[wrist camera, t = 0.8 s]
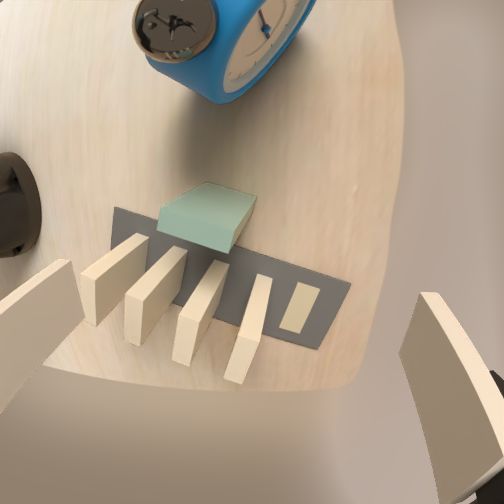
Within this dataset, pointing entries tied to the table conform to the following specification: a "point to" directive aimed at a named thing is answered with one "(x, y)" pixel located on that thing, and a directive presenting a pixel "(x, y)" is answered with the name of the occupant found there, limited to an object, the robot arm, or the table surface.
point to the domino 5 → (249, 331)
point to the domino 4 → (198, 313)
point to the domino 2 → (153, 295)
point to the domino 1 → (112, 278)
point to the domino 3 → (208, 216)
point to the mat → (246, 282)
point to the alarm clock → (216, 40)
